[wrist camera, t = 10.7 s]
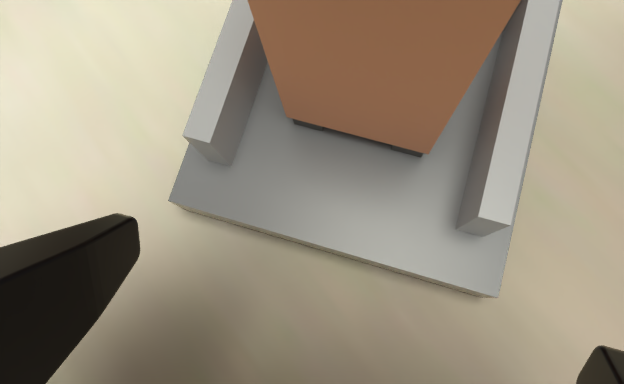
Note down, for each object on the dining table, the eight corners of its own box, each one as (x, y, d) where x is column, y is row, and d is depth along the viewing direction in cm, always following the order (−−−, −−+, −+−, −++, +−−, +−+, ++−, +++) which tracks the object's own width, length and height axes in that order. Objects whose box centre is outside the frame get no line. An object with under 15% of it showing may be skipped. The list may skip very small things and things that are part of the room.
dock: (481, 297, 18) (530, 299, 14) (185, 209, 20) (134, 183, 15) (544, 17, 21) (604, -67, 16) (274, -41, 23) (255, -133, 18)
